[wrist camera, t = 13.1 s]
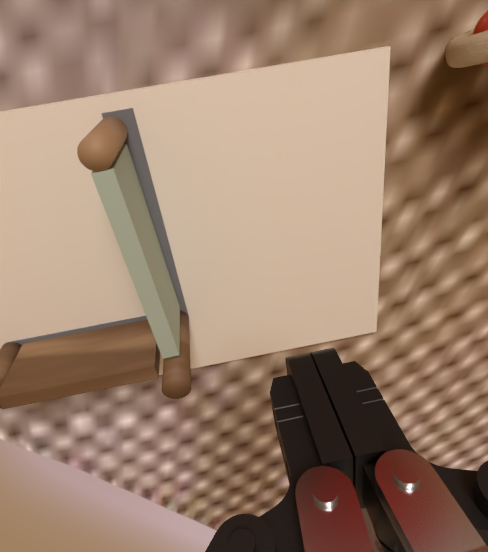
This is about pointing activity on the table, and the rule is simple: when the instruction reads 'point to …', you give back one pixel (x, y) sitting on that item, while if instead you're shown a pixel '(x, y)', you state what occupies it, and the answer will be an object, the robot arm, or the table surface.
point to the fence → (91, 364)
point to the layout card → (207, 207)
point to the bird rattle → (469, 46)
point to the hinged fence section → (133, 228)
